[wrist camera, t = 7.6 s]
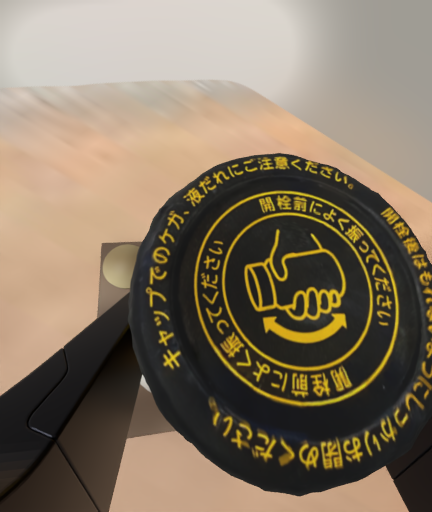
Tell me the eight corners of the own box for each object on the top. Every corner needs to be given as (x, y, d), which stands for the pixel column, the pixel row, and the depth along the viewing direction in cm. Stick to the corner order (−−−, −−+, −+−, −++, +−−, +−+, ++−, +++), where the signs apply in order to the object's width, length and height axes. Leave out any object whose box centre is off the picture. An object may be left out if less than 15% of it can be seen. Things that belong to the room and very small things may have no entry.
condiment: (212, 245, 16) (266, 56, 5) (303, 324, 15) (660, 339, 4) (137, 323, 14) (-114, 337, 2) (237, 420, 13) (584, 1176, 2)
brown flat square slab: (285, 408, 19) (294, 416, 18) (95, 437, 17) (84, 450, 15) (260, 240, 24) (266, 234, 22) (105, 246, 21) (98, 240, 20)
